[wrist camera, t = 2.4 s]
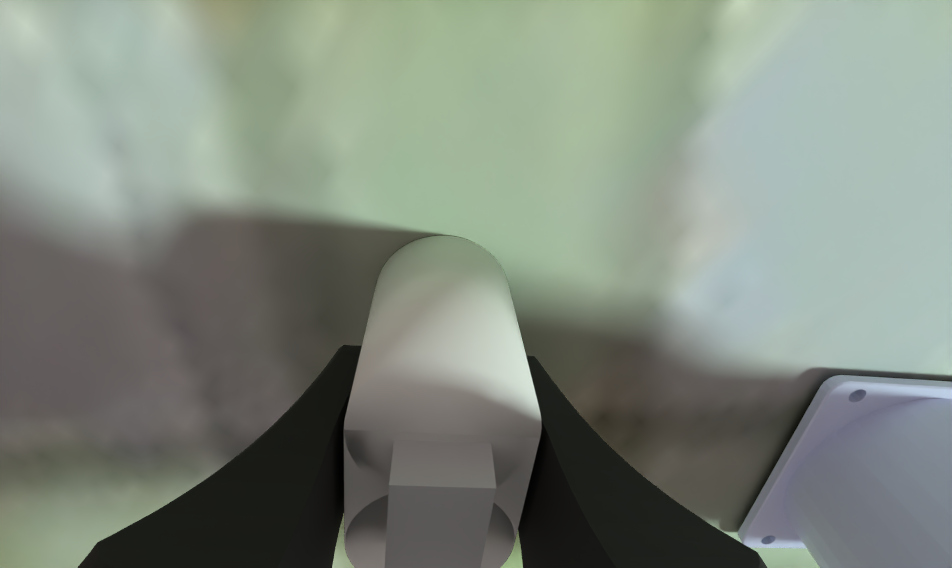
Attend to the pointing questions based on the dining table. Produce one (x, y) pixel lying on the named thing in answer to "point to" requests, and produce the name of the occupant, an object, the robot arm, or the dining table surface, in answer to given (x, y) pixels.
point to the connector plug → (439, 415)
